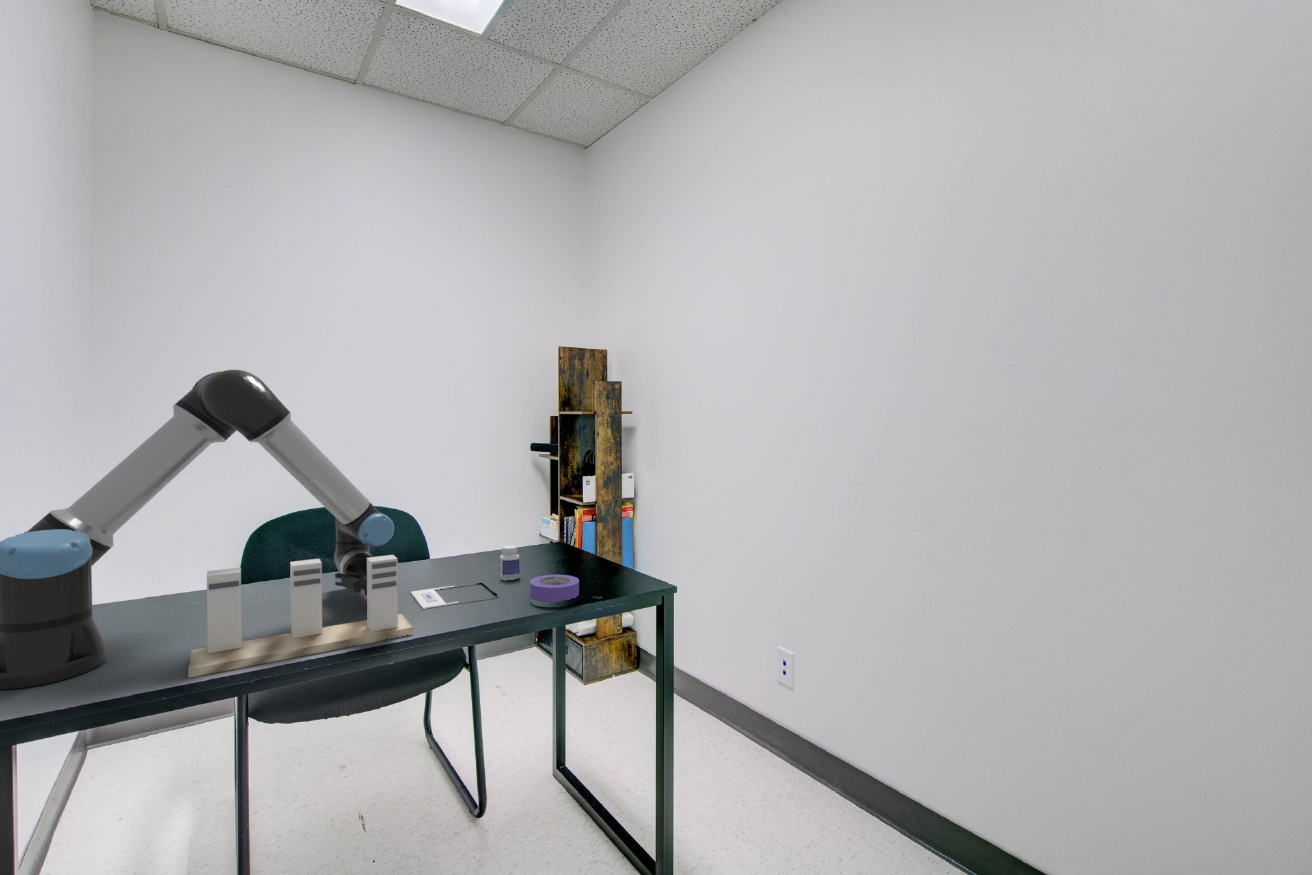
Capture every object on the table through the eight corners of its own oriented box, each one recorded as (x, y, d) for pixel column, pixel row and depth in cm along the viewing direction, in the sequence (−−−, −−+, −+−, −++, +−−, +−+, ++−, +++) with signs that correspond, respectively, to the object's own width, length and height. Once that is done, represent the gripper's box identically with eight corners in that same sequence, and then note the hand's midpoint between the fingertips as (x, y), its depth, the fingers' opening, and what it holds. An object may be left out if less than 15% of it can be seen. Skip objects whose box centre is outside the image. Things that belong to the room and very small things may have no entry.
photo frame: (410, 590, 150) (482, 580, 159) (410, 595, 150) (482, 584, 159) (422, 606, 137) (499, 595, 147) (422, 611, 137) (499, 599, 147)
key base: (188, 677, 101) (188, 669, 101) (191, 657, 109) (191, 649, 109) (412, 634, 122) (412, 627, 122) (401, 620, 130) (401, 613, 130)
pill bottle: (523, 579, 164) (523, 546, 164) (506, 582, 160) (506, 549, 160) (512, 575, 168) (512, 543, 167) (495, 579, 164) (495, 546, 163)
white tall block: (292, 638, 114) (291, 566, 114) (291, 632, 118) (290, 561, 117) (322, 633, 117) (321, 562, 117) (319, 627, 121) (319, 558, 120)
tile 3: (371, 632, 118) (370, 562, 118) (367, 625, 122) (366, 557, 121) (398, 627, 121) (397, 558, 121) (393, 621, 125) (393, 554, 124)
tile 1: (207, 653, 107) (206, 576, 107) (208, 646, 110) (207, 571, 110) (241, 647, 110) (240, 572, 109) (241, 640, 113) (240, 567, 113)
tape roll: (569, 591, 153) (569, 572, 153) (585, 604, 143) (586, 583, 143) (524, 597, 148) (524, 577, 148) (537, 611, 138) (537, 589, 137)
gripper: (389, 579, 146) (414, 605, 127) (329, 588, 139) (346, 616, 120) (389, 549, 146) (414, 570, 127) (329, 556, 139) (346, 579, 119)
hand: (381, 592), depth 123 cm, fingers closed
